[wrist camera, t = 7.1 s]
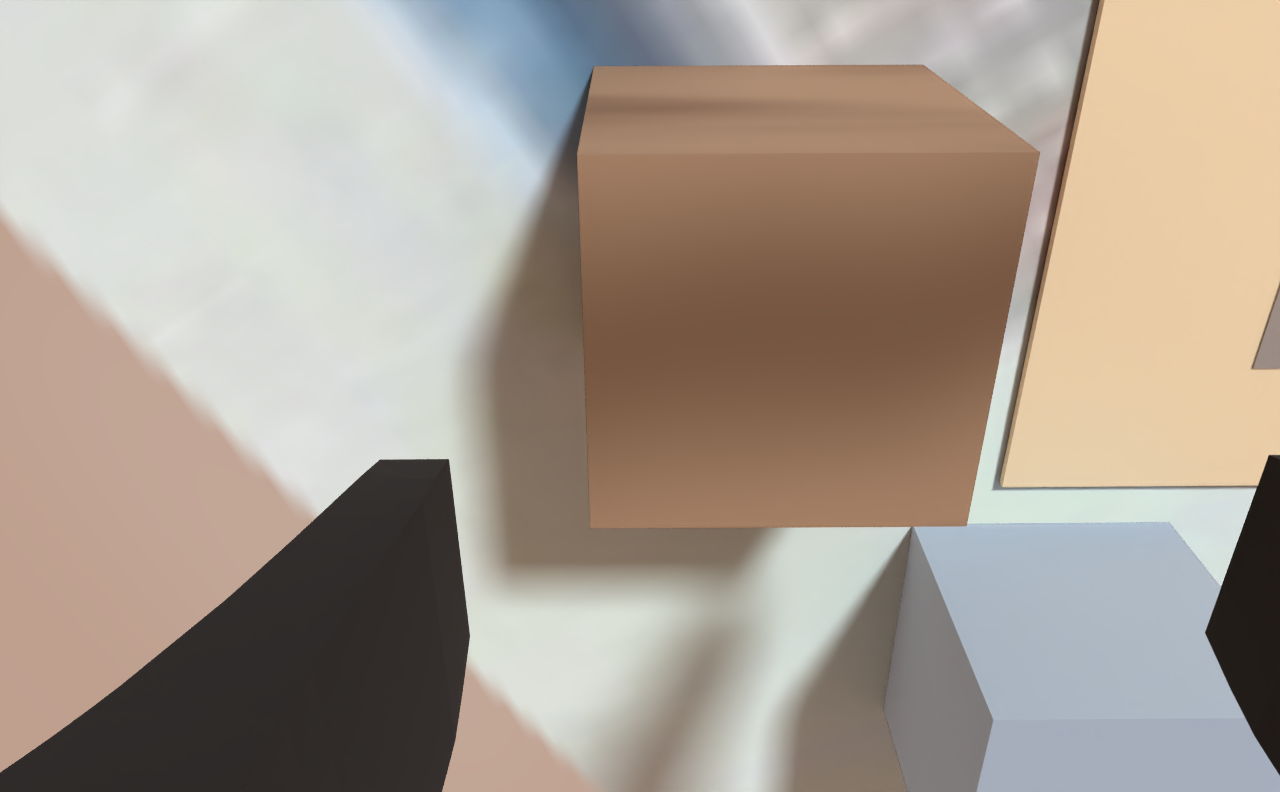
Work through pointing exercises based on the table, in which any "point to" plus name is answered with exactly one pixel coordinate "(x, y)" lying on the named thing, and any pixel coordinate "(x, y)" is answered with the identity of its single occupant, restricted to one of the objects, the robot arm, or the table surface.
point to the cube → (1063, 665)
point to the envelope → (1162, 259)
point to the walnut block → (792, 293)
